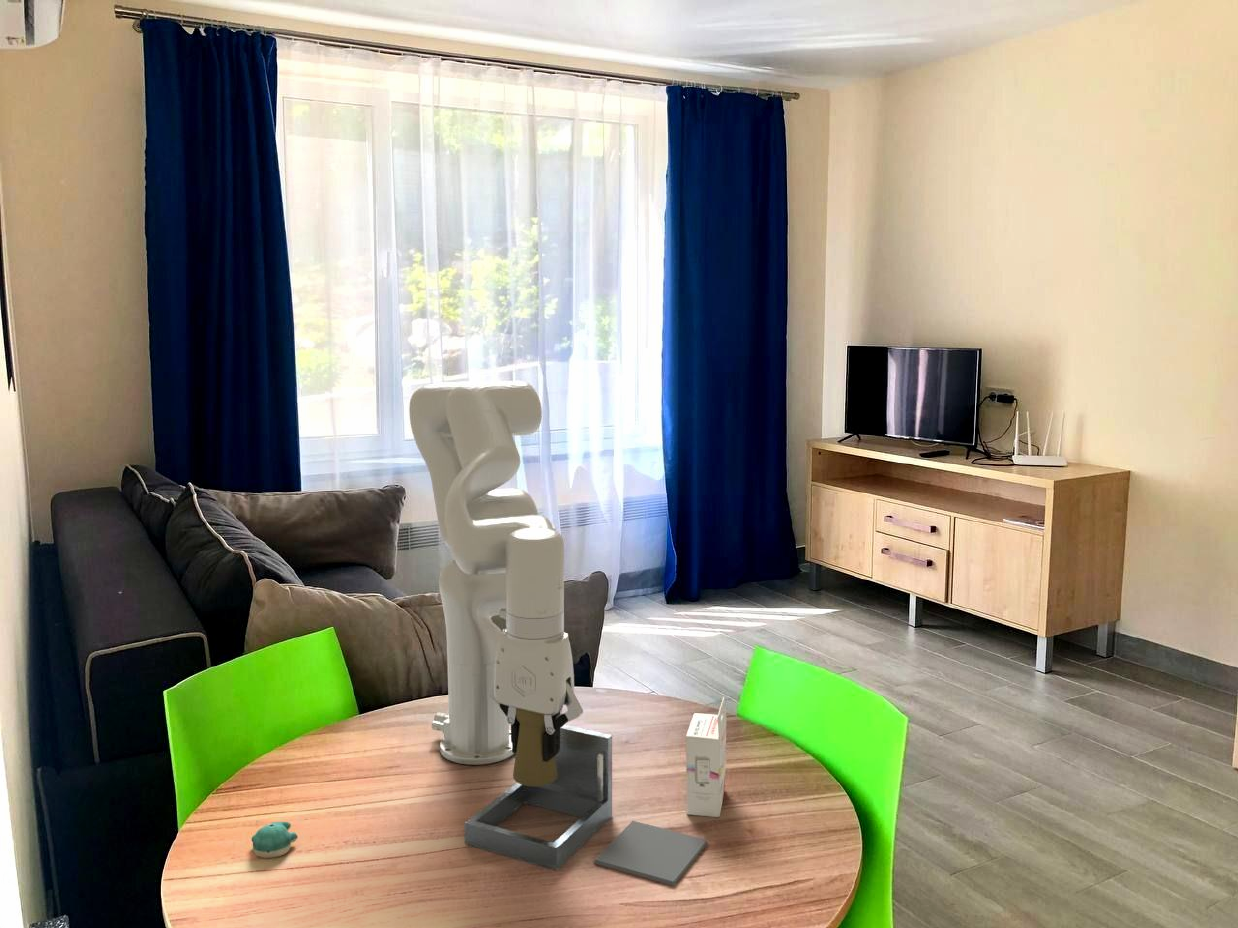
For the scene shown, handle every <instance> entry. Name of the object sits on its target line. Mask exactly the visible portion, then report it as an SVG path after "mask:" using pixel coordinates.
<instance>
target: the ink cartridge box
mask: <svg viewBox="0 0 1238 928" xmlns="http://www.w3.org/2000/svg"><path fill="white" fill-rule="evenodd" d="M717 713H718V714H712V713H701V712H700V713H699V712H694V713H693V715H692V717H691V718H692V719H691V721H690V723H689V727H688V729H687V732H686V735H685V743H686V744H685V745H686V750H685V751H686V752H685V753H686V754H685V755H686V758H685V759H686V760H685V761H686V766H685V767H686V815H691V816H702V817H703V816H705V817H713V818H719V817H720V816H721V812H722V805H723V803H724V802H723V800H724V794H725V790H726V759H727V753H726V752H727V707H726V698H725V696H723V697H722V701H721V703H720V706H719V710H718V712H717Z"/></svg>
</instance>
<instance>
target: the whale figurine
mask: <svg viewBox="0 0 1238 928" xmlns="http://www.w3.org/2000/svg"><path fill="white" fill-rule="evenodd" d="M291 824H292V823H290V822H288V821H273V822H271V823H269V824H266V825H264V826H262V827H261V828H259V829H258V830H257V832H255V834H253V835H252V836H251V842H252V849H253V853H254V854H255V855H256V856H257V857H259V858H263V859H269V858H270V859H271V858H278V857H281V856H283V855H285V854H286V853H288V852H289V851H290V849H291V846H292V843H294V842H296V841H297V839H298V835H297V833H296V832H290V831H289V830H290V829H291V827H292V825H291Z"/></svg>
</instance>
